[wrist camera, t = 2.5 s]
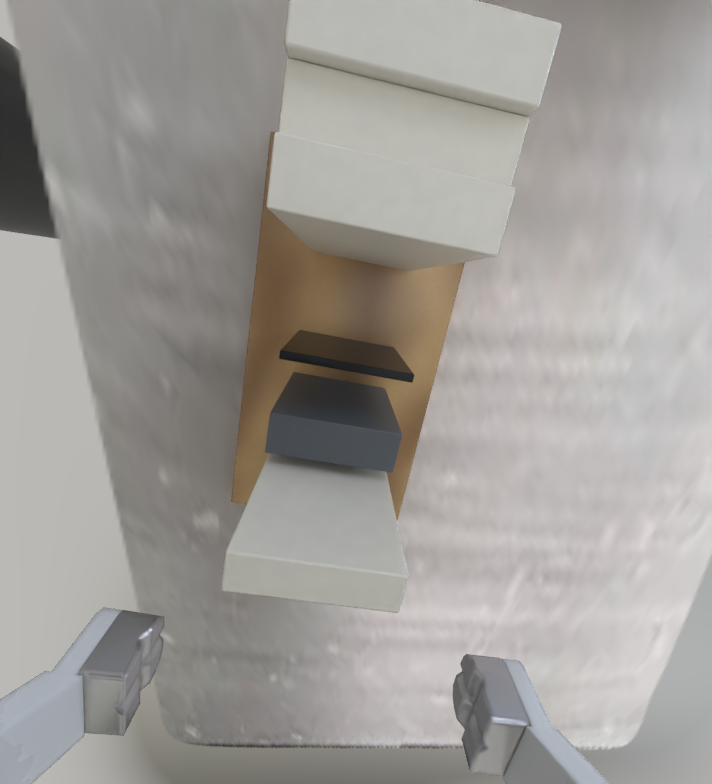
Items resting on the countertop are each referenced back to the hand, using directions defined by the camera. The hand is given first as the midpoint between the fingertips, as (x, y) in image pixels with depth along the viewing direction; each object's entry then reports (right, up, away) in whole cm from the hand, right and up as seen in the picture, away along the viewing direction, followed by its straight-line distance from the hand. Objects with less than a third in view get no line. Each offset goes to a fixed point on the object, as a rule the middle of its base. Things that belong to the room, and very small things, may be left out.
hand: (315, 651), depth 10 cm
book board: (0, +9, +14) cm, 17 cm away
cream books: (+2, +17, +11) cm, 20 cm away
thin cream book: (-1, +4, +15) cm, 15 cm away
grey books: (-1, +4, +15) cm, 15 cm away
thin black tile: (+1, +10, +13) cm, 16 cm away
